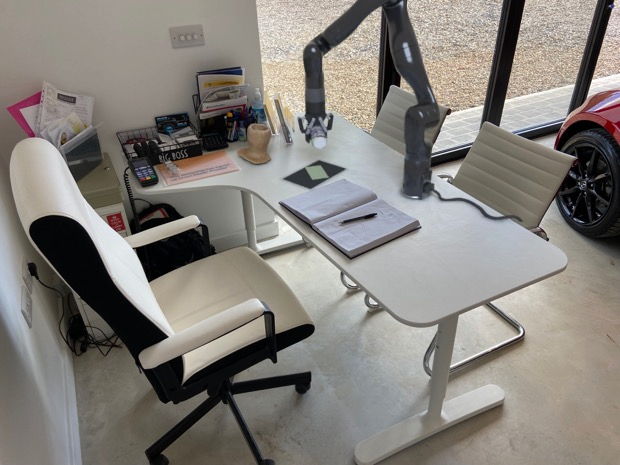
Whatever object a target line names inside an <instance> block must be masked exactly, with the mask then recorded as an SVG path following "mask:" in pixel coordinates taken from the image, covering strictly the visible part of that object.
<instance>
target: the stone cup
mask: <svg viewBox="0 0 620 465" xmlns="http://www.w3.org/2000/svg"><path fill="white" fill-rule="evenodd" d="M246 131H247V132H246V137H247V142H248V146H247V147H243V148H239V149H238V150H237V151H236V154H237V156H240V158H243V159H244V160H246V161H248V162H249V163H252V164H255V165H259V164H264V163H267V162H269V161H271V159H272V158H271V156H270V155H269V154H268V148H269V144H270V142H271V138H272V129H271V128H270V127H269V126H268V125H265V124H263V123H251V124H250V125H249V126H248V127H247V130H246Z"/></svg>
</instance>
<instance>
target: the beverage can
mask: <svg viewBox="0 0 620 465" xmlns="http://www.w3.org/2000/svg"><path fill="white" fill-rule="evenodd" d="M309 134H310V143H311V145H312V147H314V148H315V149H323V148H324V147H326V144H327V142H328V137H327V138H326V136H325V133H324V131H323V129H322V127H321V125H316V126H312V128H311V130H310V132H309Z"/></svg>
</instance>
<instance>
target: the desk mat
mask: <svg viewBox="0 0 620 465" xmlns="http://www.w3.org/2000/svg"><path fill="white" fill-rule="evenodd" d="M344 171H346V167H343V166H340V165H337V164H333V163H329V162H327V161H323V160H316V161H314V162H312V163H310V164H309V165H307V166H305V167H303V168H301V169H299V170H297V171H295V172H293V173H291V174H289V175H288V176H285V177H283V181H287V182H290V183H293V184H296V185H298V186H301V187H304V188H307V189H309V190H311V189H313V188H315V187H317V186H319V185H320V184H322V183H324V182H325V181H327V180H329V179H331V178H333V177H335V176H336V175H338V174H339V173H342V172H344Z"/></svg>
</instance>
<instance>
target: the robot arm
mask: <svg viewBox="0 0 620 465" xmlns="http://www.w3.org/2000/svg"><path fill="white" fill-rule="evenodd" d="M380 7H381V9H382V11H383V13H384V17H385V20H386V22H387V26H388V27H387V28H388V40H389V48H390V49H389V50H390V53H391V54H390V55H391V57H392V61H393V64H394V67H395V70H396V72H397V73H398V74H399V76H400V77H401V78H402V79H403V80H404V82H405V83H407V84H408V86H409V87H410V88H411V90H412V91H413V94H414V97H415V99H416V104H413V105H410V106H408V107H407V108H406V110H405V112H404V115H403V116H404V117H403V142H404V157H403V169H402V170H403V172H402V174H403V175H402V182H401V195H402V196H404V197H405V198H407V199H412V200H424V199H425V198H426V197H427V196H429V195H430V194H431V193H435V194H436V195H437V197H438V199H439V200H440V201H442V202H457V201H461V202H465V203H468V204H470V205H472V206H474V207H475V208H477V209H478V210H479V211H480V212H481V213H482V214H483V216H485V217H486V218H488V219H491V220H494V221H495V220H497V221H499V220H506V219H514V220H517V221H518V222H520V223H523V222H524V221H523V219H522V218H521V217H519V216H517V215H514V214H507V215H502V216H494V215H490V214H489V213H487V212H486V211H485V209H484V208H483V207H482V206H481V205H479V204H477V203H476V202H474V201H472V200H470V199H469V198H464V197H452V198H444V197H442V194H441V193H440V192H439V191H438V190H437V189H435V183H433V182H432V178H433V177H432V176H433V170H432V169H431V163H432V156H433V155H432V154H433V147H434V146H433V145H434V144H433V141H432V140H431V139H429V138H426V137H425V133H426V131H428V130H431V129H434V128H436V127H438V126H439V124H440V123H441V116H442V115H441V109H440V106H439V104H438V101H437V98H436V96H435V93H434V91H433V88H432V86H431V82H430V79H429V76H428V73H427V70H426V66H425V62H424V59H423V55H422V51H421V47H420V43H419V41H418V37H417V35H416V32H415V28H414V26H413V24H412V21H411V18H410V15H409V10H408V4H407V0H356V1H355V2H353V4H352V5H351V6H349V8H348V9H347V10H346V11H344V12H343V13H342V14H341V15H340V16H338V18H336V19H335V20H334V21H333V22H331V23H330V24H329V25H328V26H327V27H325V29H324V30H323V31H322V32H321V33H319V34H318V35H316V36H315V37H313V38H312V39H311V40H310V41H309V42H308V43H306V45H305V46H304V48H303V49H302V64H303V70H304V111H305V113H304V115H303V116H297V123H298V127H299V128H298V129H299V131H300V133H301V134H304V140H305V142H306V143H307V144H310V143H311V141H310V134H309V132H310V130H311V128H312V126H316V125H321V127H322V129H323V131H324V133H325V136H326V138H327V139H328V131H332V129H333V124H334V118H335V116H334V114H333V113H332V112H328V113H327V112H326V88H325V73H324V70H323V59H324V56H326V55H327V54H328V53H329V52H330V51H331V50H333V49H334V48H337V47H338V46H340V45H341V44H342V43H344V42H345V41H347V39H348V38H349V37H350V36H352V34H353V33H355V32H356V30H357V29H358V28H359V27H360V26H361V24H362V23H363V22H364V21H365V20H366V18H368V16H370V15H371V14H372V13H373V12H375V11H377V9H379V8H380ZM326 119H327V124H325V122H324V121H325V120H326ZM305 121H306V125H305V127H304V123H305Z"/></svg>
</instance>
